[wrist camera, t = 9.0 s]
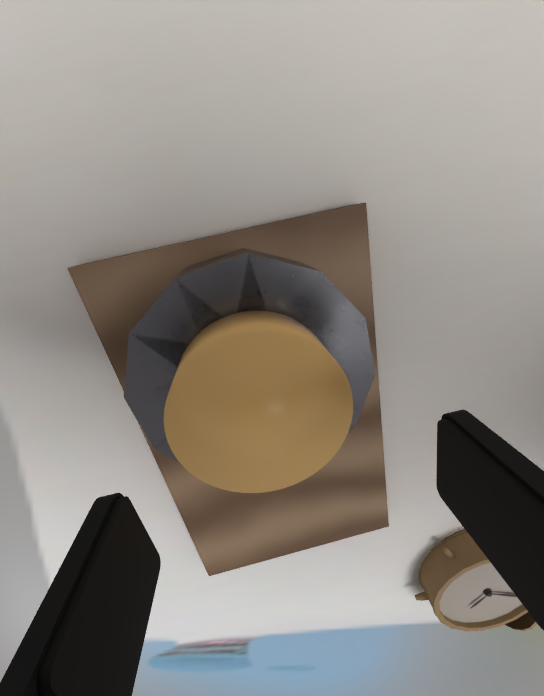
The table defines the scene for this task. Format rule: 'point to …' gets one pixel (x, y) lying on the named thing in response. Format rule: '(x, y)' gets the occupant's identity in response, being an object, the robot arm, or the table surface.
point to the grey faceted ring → (229, 298)
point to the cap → (257, 404)
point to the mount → (360, 443)
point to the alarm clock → (469, 588)
